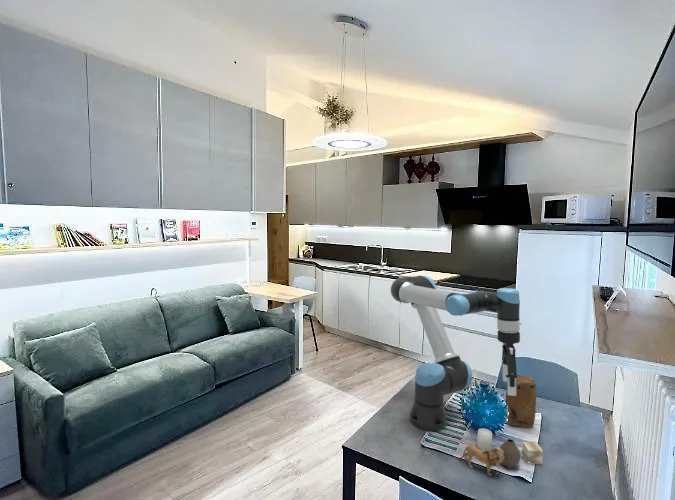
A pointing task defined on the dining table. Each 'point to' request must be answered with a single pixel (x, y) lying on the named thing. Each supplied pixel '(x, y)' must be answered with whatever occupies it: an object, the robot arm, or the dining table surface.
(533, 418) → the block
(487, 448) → the white cylinder
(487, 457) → the lion figurine
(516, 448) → the vase
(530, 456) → the birch block
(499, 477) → the dining table surface
